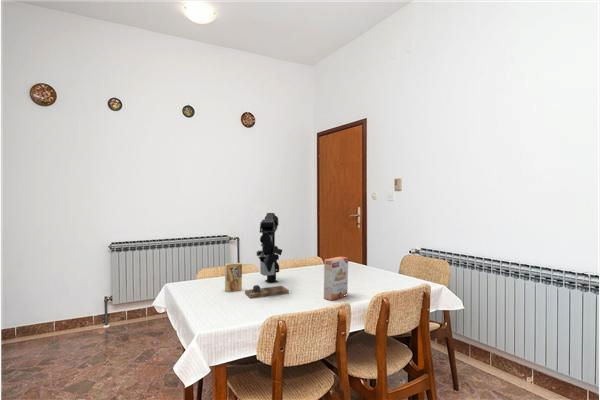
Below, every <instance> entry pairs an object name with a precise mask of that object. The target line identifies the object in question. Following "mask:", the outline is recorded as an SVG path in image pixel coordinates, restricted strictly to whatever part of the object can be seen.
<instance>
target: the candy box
mask: <svg viewBox="0 0 600 400" xmlns="http://www.w3.org/2000/svg"><path fill="white" fill-rule="evenodd" d="M224 278H225V279H224V291H225V292H227V293H230V292H238V291H243V263H241V262H233V263H232V262H231V263H225V265H224Z"/></svg>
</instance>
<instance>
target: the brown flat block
mask: <svg viewBox="0 0 600 400" xmlns="http://www.w3.org/2000/svg"><path fill="white" fill-rule="evenodd" d="M244 294H245V295H246V296H247V297H248V298H249V299H256V298H257V299H258V298H265V297H273V296H280V295H289V294H290V290H289V289H288V288H287V287H285V286H284V285H279V286H278V285H277V286H268V287H262V288H261V287H260V285H259V284H256V285H253V286H252V288H251V289H245V290H244Z"/></svg>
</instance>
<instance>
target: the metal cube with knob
mask: <svg viewBox="0 0 600 400" xmlns="http://www.w3.org/2000/svg"><path fill="white" fill-rule="evenodd" d="M265 260H266V259H264V261H260V260H259V261H260V267H259V268H260V274H261V276H263V277H264V276H265V277H267V276H268V275H275V262H273V265H272V268H271V271H270V272H268V269H267V265H266V262H265Z"/></svg>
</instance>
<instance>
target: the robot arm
mask: <svg viewBox="0 0 600 400" xmlns="http://www.w3.org/2000/svg"><path fill="white" fill-rule="evenodd" d="M279 222H280V221H279V217H278V216H277V215H276V213H274V212H267V213H266V216H265V217H264V219H262V220H261V221H260V223H259V233H261V236H260V237H259V241H260V243H261V244H260V247H261V250H257V251H256V256H257V257H258V259H259V261H264V259H266V260H265V262H266V265H267V269H268V272H270V271H271V268H272V265H273V262H275V275H268V276H266V279H265V280H264V281H265V282H266V283H267V284H273V283H278V282H279V281H278V280H277V273H280V265H279V262H278V260H280V256H281V255H282V252H283V249H281V248H279V247H278V246H277V245H276V232H277V230H278V226H279Z"/></svg>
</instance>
